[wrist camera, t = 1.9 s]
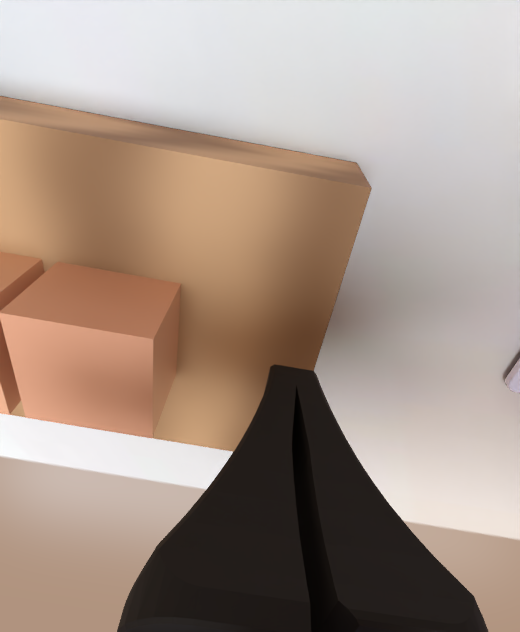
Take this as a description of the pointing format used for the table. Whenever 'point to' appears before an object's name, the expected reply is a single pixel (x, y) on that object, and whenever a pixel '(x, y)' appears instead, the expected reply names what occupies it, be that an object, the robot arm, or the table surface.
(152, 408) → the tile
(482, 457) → the table surface
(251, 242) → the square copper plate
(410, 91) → the table surface
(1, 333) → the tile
